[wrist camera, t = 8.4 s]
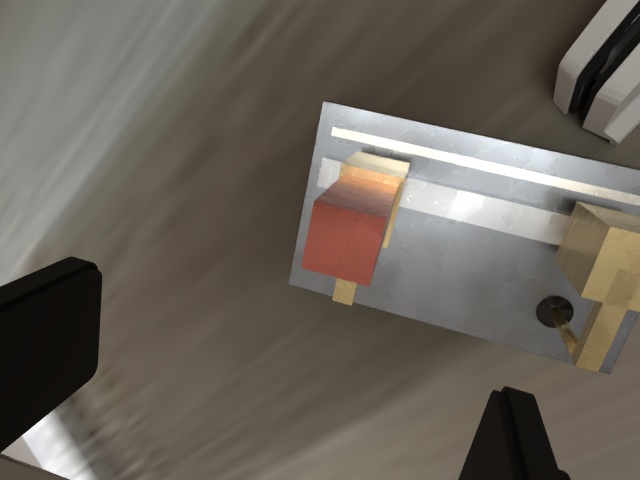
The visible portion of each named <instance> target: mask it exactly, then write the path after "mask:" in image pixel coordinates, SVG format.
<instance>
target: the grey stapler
mask: <svg viewBox="0 0 640 480" xmlns="http://www.w3.org/2000/svg"><path fill="white" fill-rule="evenodd" d="M553 101H554V103H555V104H556V106H557V107H558V108H559V109H560V110H561V111H562V113H563V114H564V115H566V114H567V112H568V111H570V112H571V113H573V114H575V113H576V112H577V111H578V109H579V108H580V107H581V106H582V105H583V104H584V103H585V102H586V101H587V102H586V105H585V107H584V110H583V112H582V115H581V118H580V119H581V120H582V121H584V124H583V126H582V128H584V129H586V130H589V131H591V132H593V133H595V134H597V135H599V136H601V137H604V138H606V139H608V140H610V141H609V143H610V144H612V145H614V146H617V145H618V144H619V143H620V142H621V141H622V140H623V139H624V138H625V137H626V136H627V135H628V134H629V133H630V132H631V131H632V130H633V129H634V128H635V127H636V126H637V125H638V124H639V123H640V0H607V1H606V3H605V4H604V5H603V6H602V8H601V9H600V10H599V11H598V13H597V14H596V15H595V17H594V18H593V19H592V20H591V22H590V23H589V24H588V26H587V27H586V28H585V30H584V31H583V32H582V33H581V35H580V36H579V37H578V39H577V40H576V41H575V42H574V44H573V45H572V46H571V48H570V49H569V50H568V52H567V53H566V54H565V56H564V57H563V59H562V61H561V62H560V64H559V69H558V74H557V80H556V86H555V91H554V97H553Z"/></svg>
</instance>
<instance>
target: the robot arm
mask: <svg viewBox="0 0 640 480" xmlns="http://www.w3.org/2000/svg"><path fill="white" fill-rule="evenodd" d="M101 292H102V274H101V272H100V271H98V268H97V265H96V264H95V263H92V262H89V261H85V260H82V259H79V258H75V257H68V258H65V259H63V260H61V261H59V262H56V263H54V264H52V265H49V266H47V267H45V268H42V269H40V270H38V271H36V272H33V273H31V274H29V275H26V276H24V277H22V278H19V279H17V280H15V281H12V282H10V283H8V284H6V285H3V286H1V287H0V480H69V479H67V478H64V477H62V476H59V475H56V474H54V473H51V472H49V471H46V470H43V469H41V468H38V467H35V466H32V465H30V464H27V463H25V462H22V461H19V460H17V459H14V458H11V457H9V456H6V455H3V454H1V452H2V451H3V450H4V449H6V448H7V447H8V446H9V445H11V444H12V443H13V442H14V441H16V439H18V438H19V437H20V436H22V435H23V434H24V433H25V432H27V431H28V430H29V429H30V428H31V427H33V426H34V425H35V424H36V423H38V422H39V421H40V420H41V419H43V418H44V417H45V416H46V415H47V414H49V413H50V412H51V411H52V410H54V409H55V408H56V407H57V406H59V405H60V404H61V403H62V402H63V401H65V400H66V399H67V398H68V397H70V396H71V395H72V394H73V393H74V392H76V391H77V390H78V389H79V388H81V387H82V386H83V385H84V384H86V383H87V382H88V381H89V380H90V379H91V378H92V377H93V376H94V374H95V372H96V370H97V366H98V351H99V331H100V311H101ZM458 480H571V479H570V477H569V475H568V474H567V473H566V472H564V471H562V470H559V469H558V467H557V464H556V461H555V458H554V455H553V451H552V448H551V445H550V442H549V439H548V436H547V433H546V430H545V427H544V424H543V421H542V418H541V415H540V411H539V408H538V405H537V402H536V399H535V397H534V395H533V394H530V393H527V392H523V391H520V390H517V389H513V388H510V387H507V386H505V387H504V388H503V389H502V390H501V392H500V391H496V390H493V391H492V393H491V395H490V397H489V400H488V402H487V405H486V408H485V410H484V413H483V416H482V418H481V421H480V424H479V426H478V429H477V432H476V434H475V437H474V440H473V442H472V445H471V447H470V450H469V453H468V455H467V458H466V461H465V463H464V466H463V469H462V471H461V474H460V477H459V479H458Z"/></svg>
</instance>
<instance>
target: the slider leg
mask: <svg viewBox="0 0 640 480" xmlns="http://www.w3.org/2000/svg"><path fill="white" fill-rule="evenodd" d="M409 166H410V163H407V162H402V161H398V160H394V159H389V158H385V157H381V156H377V155H372V154H368V153H364V152H359V151H357V152H356V153H355V154H353V155H352V156H351V157H349V158H348V159H347V160H346V161H344V162H343V163H342V164H341V168H340V173H339V177H338V180H337V181H335V182H334V183H333V184H332V185H331V186H330V187H329V188H328V189H327V190H326V191H324V192H323V193H322V194H321V195H320V196H319V197H318V198H317V199H316V200H315V201H314V203H313V209H312V214H311V219H310V224H309V229H308V234H307V239H306V244H305V249H304V254H303V259H302V264H301V268H303V269H307V270H310V271H314V272H318V273H321V274H325V275H328V276H332V277H336V278H337V281H336V285H335V290H334V294H333V298H332V300H333V301H337V302H340V303H344V304H347V305H351V306H352V304H353V301H354V298H355V294H356V290H357V286H358V284H361V285H365V286H368V287H369V285H370V282H371V279H372V276H373V273H374V270H375V267H376V264H377V261H378V258H379V255H380V252H381V249H382V247H384V248H387V247H388V243H389V240H390V236H391V233H392V230H393V226H394V223H395V219H396V215H397V212H398V208H399V204H400V200H401V196H402V192H403V189H404V185H405V181H406V177H407V173H408V169H409Z"/></svg>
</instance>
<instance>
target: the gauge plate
mask: <svg viewBox="0 0 640 480" xmlns="http://www.w3.org/2000/svg"><path fill="white" fill-rule="evenodd" d="M357 151H359V152H364V153H368V154H372V155H377V156H381V157H385V158H389V159H394V160H398V161H402V162H407V163H410V166H409V169H408V173H407V177H406V181H405V185H404V189H403V192H402V196H401V200H400V204H399V208H398V212H397V215H396V219H395V223H394V226H393V230H392V233H391V236H390V240H389V243H388V247H387V248H384V247H382V249H381V252H380V255H379V258H378V261H377V264H376V267H375V270H374V273H373V276H372V279H371V282H370V285H369V287H368V286H365V285H361V284H358V286H357V290H356V294H355V298H354V301H353V302H354V303H358V304H361V305H365V306H369V307H372V308H376V309H379V310H383V311H386V312H390V313H393V314H397V315H401V316H404V317H408V318H411V319H415V320H418V321H422V322H426V323H429V324H433V325H436V326H440V327H443V328H447V329H450V330H454V331H458V332H461V333H465V334H468V335H472V336H475V337H479V338H482V339H486V340H490V341H493V342H497V343H500V344H504V345H507V346H511V347H514V348H518V349H522V350H525V351H529V352H532V353H536V354H539V355H543V356H547V357H550V358H554V359H557V360H561V361H564V362H568V363H571V364H574V365H575V366H576V367H579V368H583V369H586V370H590V371H594V372H597V373H598V371H600V372H603V373H607V374H610V372H611V370H612V368H613V366H614V364H615V362H616V359H617V357H618V355H619V353H620V351H621V349H622V347H623V345H624V342H625V340H626V338H627V336H628V334H629V332H630V330H631V328H632V326H633V323H634V321H635V319H636V317H637V315H638V313H639V312H640V169H635V168H631V167H626V166H622V165H617V164H613V163H608V162H603V161H599V160H594V159H590V158H585V157H580V156H576V155H571V154H567V153H562V152H558V151H553V150H548V149H544V148H539V147H535V146H530V145H526V144H521V143H516V142H512V141H507V140H503V139H498V138H493V137H489V136H484V135H480V134H475V133H471V132H466V131H461V130H457V129H452V128H448V127H443V126H438V125H434V124H429V123H425V122H420V121H416V120H411V119H406V118H402V117H397V116H393V115H388V114H383V113H379V112H374V111H370V110H365V109H361V108H356V107H351V106H347V105H342V104H338V103H333V102H328V101H323V106H322V111H321V117H320V122H319V127H318V132H317V138H316V143H315V148H314V153H313V159H312V164H311V169H310V174H309V179H308V185H307V190H306V195H305V200H304V206H303V211H302V216H301V221H300V227H299V232H298V237H297V242H296V247H295V253H294V258H293V263H292V268H291V274H290V279H289V284H290V285H294V286H297V287H301V288H304V289H308V290H312V291H315V292H319V293H322V294H326V295H329V296H333V294H334V290H335V285H336V281H337V278H336V277H332V276H328V275H325V274H321V273H318V272H314V271H310V270H307V269H303V268H301V264H302V259H303V254H304V249H305V244H306V239H307V234H308V229H309V224H310V219H311V214H312V209H313V203H314V201H315V200H316V199H317V198H318V197H319V196H320V195H321V194H322V193H323V192H324V191H326V190H327V189H328V188H329V187H330V186H331V185H332V184H333V183H334V182H335V181H337V180H338V177H339V173H340V168H341V164H342V163H343V162H344V161H346V160H347V159H348V158H349V157H351V156H352V155H353V154H355V153H356V152H357Z"/></svg>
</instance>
